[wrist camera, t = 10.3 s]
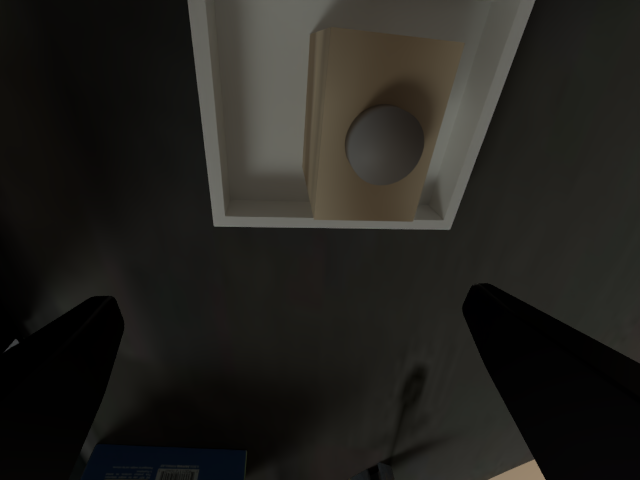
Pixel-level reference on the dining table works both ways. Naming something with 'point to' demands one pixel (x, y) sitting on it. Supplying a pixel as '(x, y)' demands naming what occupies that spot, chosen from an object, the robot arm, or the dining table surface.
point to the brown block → (373, 121)
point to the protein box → (164, 463)
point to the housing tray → (291, 89)
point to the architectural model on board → (376, 474)
